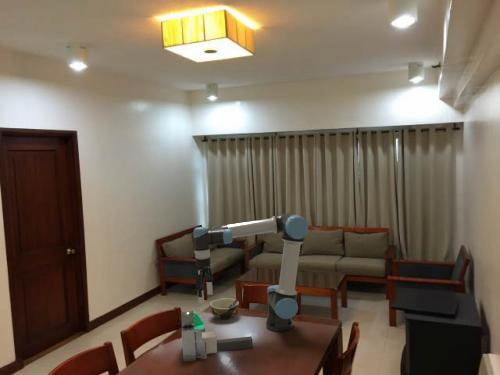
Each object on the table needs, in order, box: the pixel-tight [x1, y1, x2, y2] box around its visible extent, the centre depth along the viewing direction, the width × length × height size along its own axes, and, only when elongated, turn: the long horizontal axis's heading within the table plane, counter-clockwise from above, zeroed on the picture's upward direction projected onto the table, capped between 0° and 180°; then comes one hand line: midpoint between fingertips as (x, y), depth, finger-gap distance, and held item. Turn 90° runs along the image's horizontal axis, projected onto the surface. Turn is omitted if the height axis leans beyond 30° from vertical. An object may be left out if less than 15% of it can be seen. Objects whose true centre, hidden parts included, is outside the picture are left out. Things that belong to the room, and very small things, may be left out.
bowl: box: [209, 297, 240, 320], centre depth 255 cm, size 18×18×10 cm
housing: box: [180, 310, 208, 362], centre depth 210 cm, size 11×19×20 cm, turn 8°
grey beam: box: [202, 330, 253, 355], centre depth 212 cm, size 28×7×8 cm, turn 98°
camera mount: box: [192, 310, 205, 331], centre depth 237 cm, size 12×8×10 cm, turn 96°
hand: (205, 298), depth 216 cm, fingers open, 13 cm apart
